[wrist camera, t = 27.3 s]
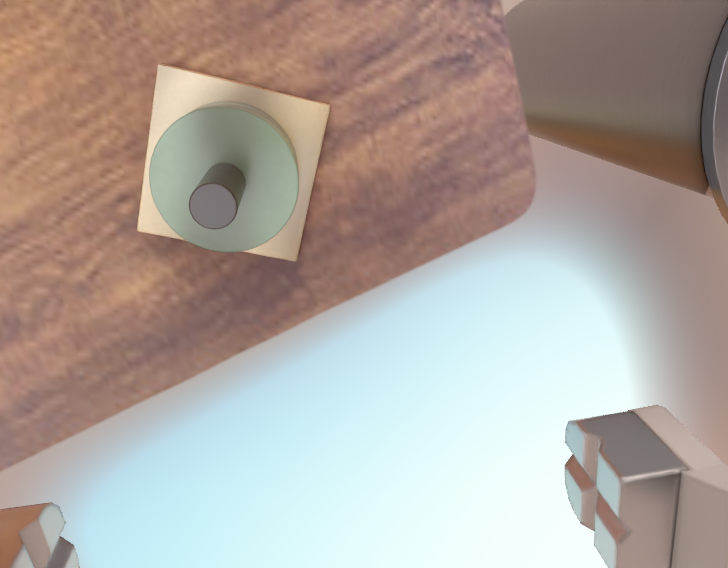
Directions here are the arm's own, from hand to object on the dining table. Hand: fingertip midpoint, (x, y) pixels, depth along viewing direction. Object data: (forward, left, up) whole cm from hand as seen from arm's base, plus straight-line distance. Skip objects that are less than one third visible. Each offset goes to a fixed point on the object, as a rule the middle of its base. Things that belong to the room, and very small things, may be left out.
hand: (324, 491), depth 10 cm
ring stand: (+4, +1, -31) cm, 31 cm away
